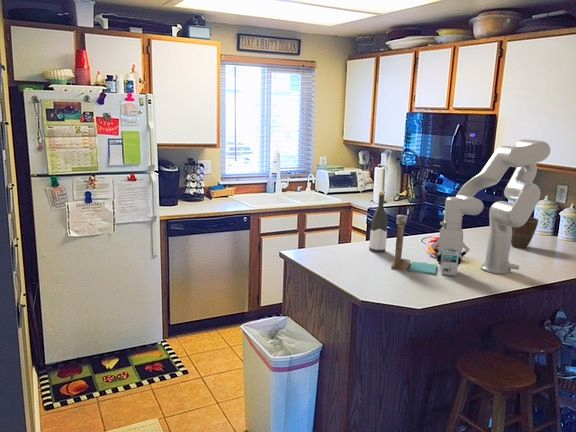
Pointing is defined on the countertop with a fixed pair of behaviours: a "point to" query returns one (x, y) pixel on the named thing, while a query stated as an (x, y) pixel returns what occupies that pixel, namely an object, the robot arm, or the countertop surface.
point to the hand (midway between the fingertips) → (448, 264)
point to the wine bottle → (379, 228)
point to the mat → (423, 268)
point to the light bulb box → (449, 262)
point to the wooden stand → (400, 245)
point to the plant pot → (524, 233)
